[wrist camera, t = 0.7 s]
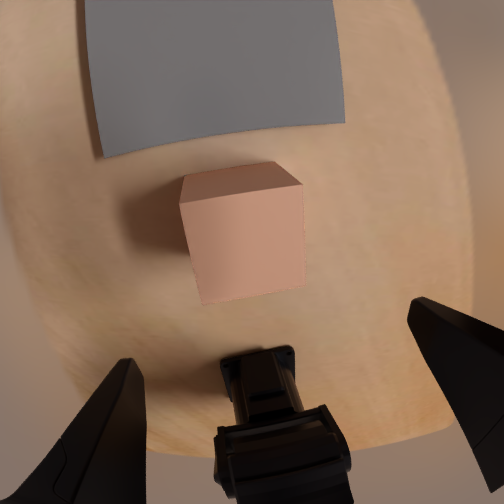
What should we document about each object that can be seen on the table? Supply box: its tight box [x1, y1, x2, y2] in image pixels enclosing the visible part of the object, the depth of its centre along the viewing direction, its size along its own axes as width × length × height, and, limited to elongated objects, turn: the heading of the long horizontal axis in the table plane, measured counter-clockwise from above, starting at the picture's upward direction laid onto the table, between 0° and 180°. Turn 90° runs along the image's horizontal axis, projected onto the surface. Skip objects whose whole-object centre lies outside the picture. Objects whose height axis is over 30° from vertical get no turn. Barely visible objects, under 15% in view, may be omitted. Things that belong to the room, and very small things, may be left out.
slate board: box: [85, 0, 345, 158], centre depth 13 cm, size 14×14×1 cm
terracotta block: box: [179, 162, 306, 305], centre depth 17 cm, size 6×6×6 cm
